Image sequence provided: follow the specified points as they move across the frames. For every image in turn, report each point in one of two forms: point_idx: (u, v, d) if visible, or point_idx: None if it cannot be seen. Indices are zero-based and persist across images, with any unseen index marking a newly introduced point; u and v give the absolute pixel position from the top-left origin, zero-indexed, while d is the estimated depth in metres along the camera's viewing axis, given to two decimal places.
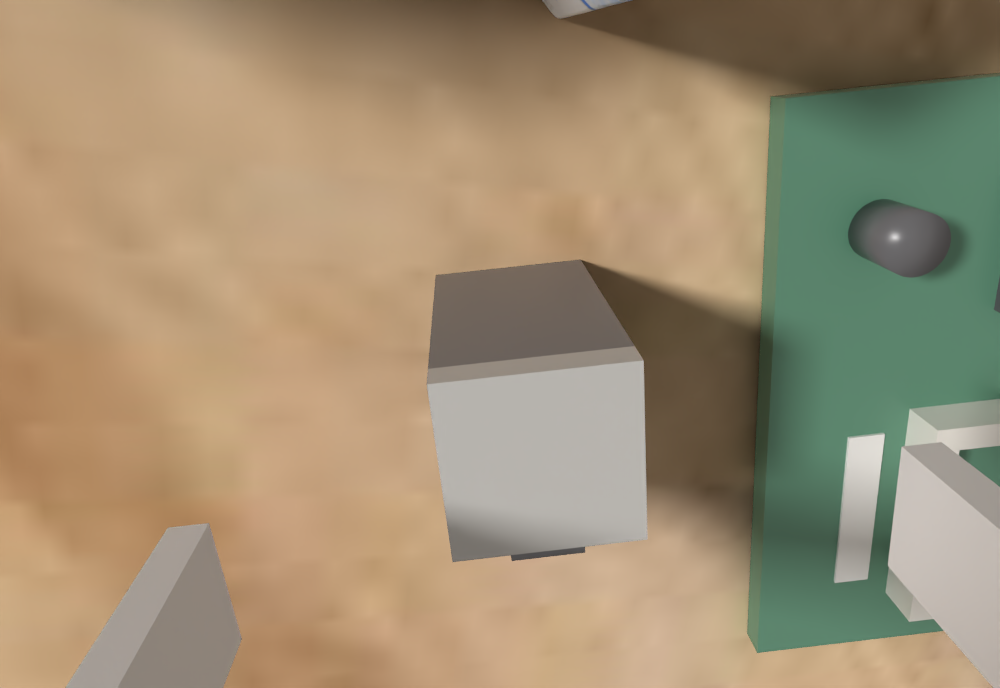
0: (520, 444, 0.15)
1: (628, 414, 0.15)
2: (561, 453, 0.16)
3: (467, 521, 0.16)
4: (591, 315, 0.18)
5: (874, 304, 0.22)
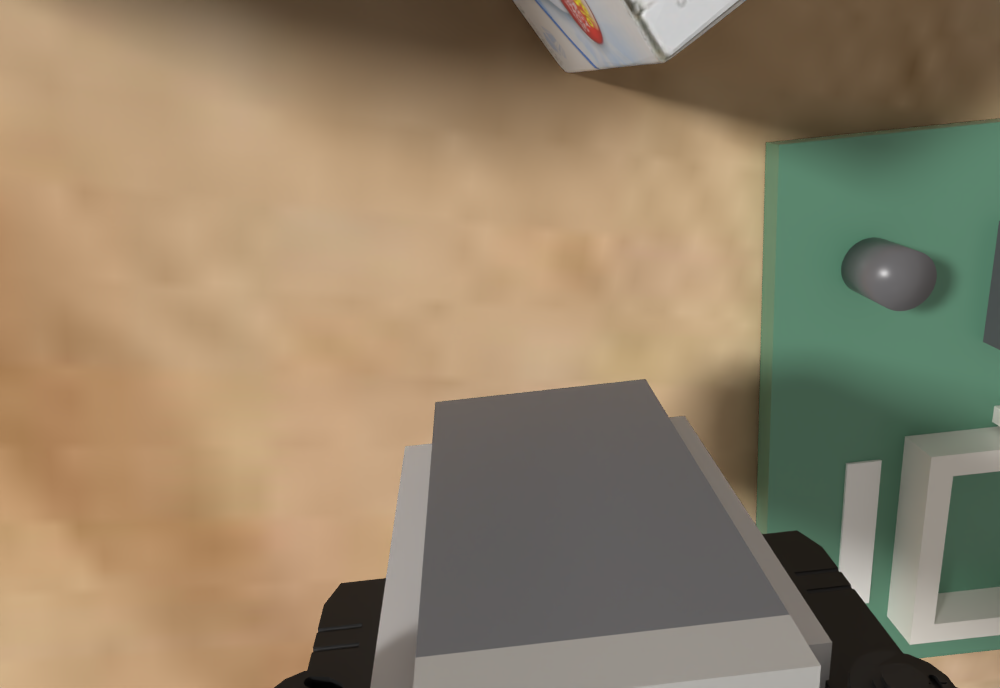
0: None
1: None
2: None
3: None
4: (690, 515, 0.11)
5: (868, 336, 0.23)
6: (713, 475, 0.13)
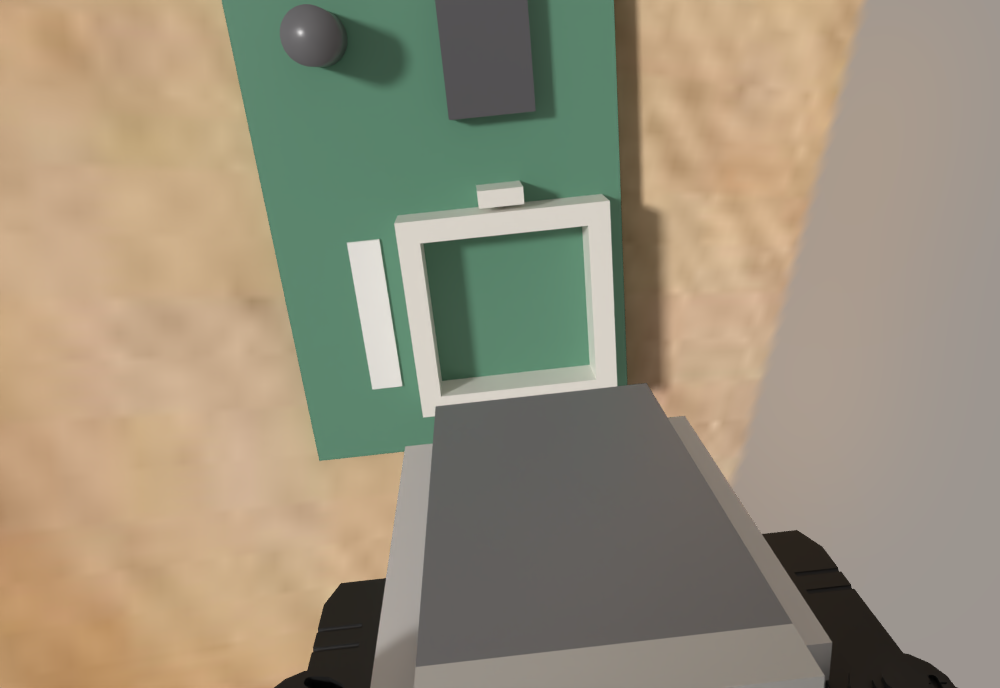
0: None
1: None
2: None
3: None
4: (692, 522, 0.11)
5: (337, 111, 0.25)
6: (713, 475, 0.13)
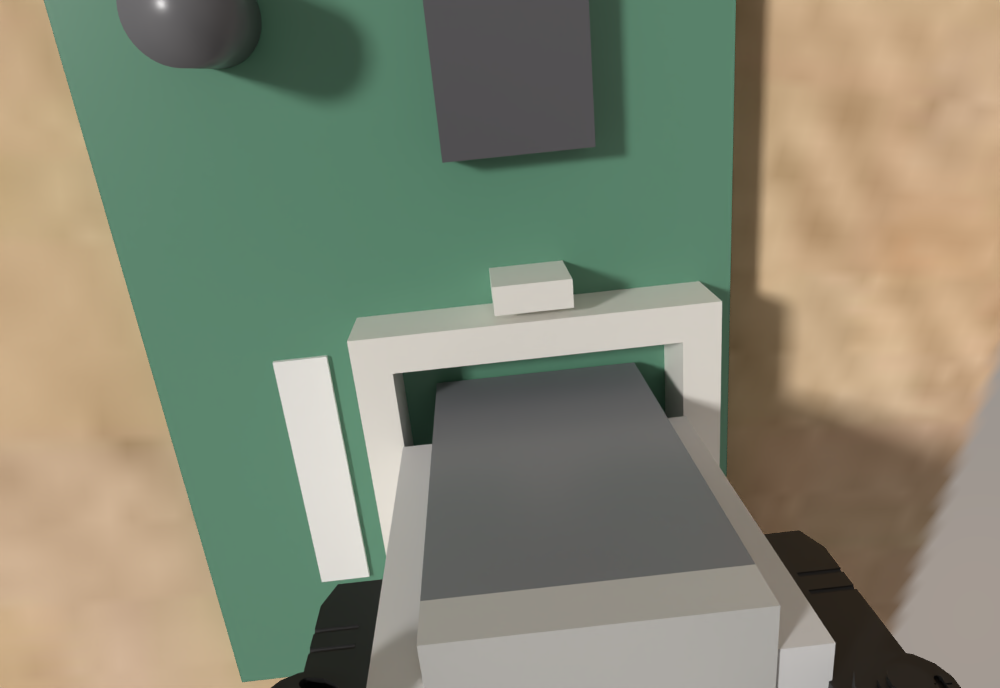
0: None
1: (748, 684, 0.09)
2: None
3: None
4: (670, 482, 0.12)
5: (247, 146, 0.14)
6: (715, 475, 0.13)
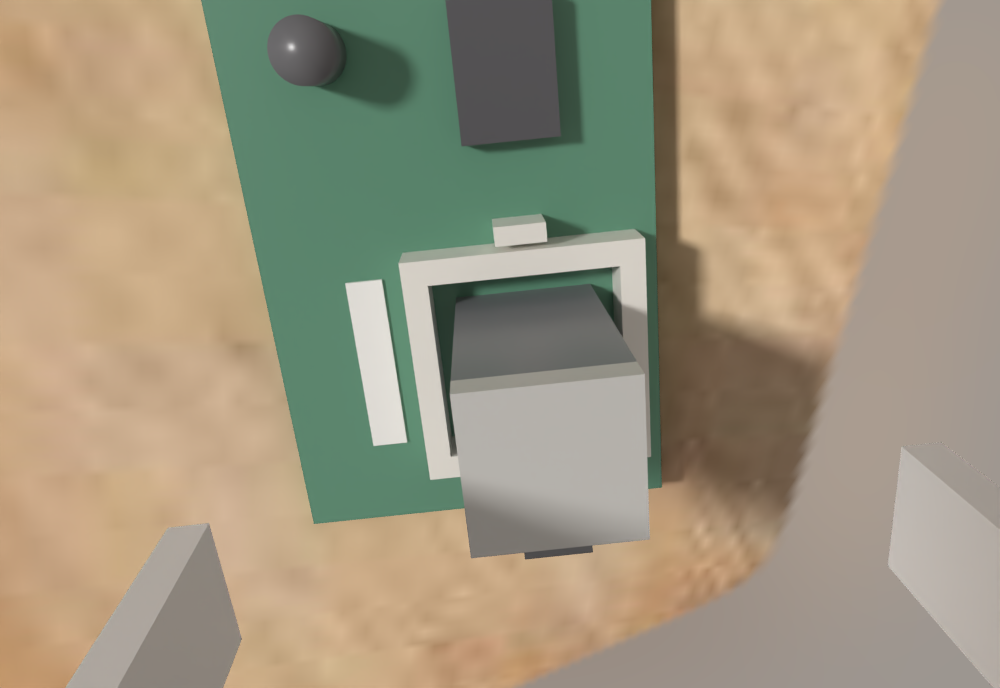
0: (533, 449, 0.17)
1: (631, 423, 0.17)
2: (570, 458, 0.17)
3: (484, 520, 0.18)
4: (599, 334, 0.19)
5: (334, 136, 0.22)
6: None
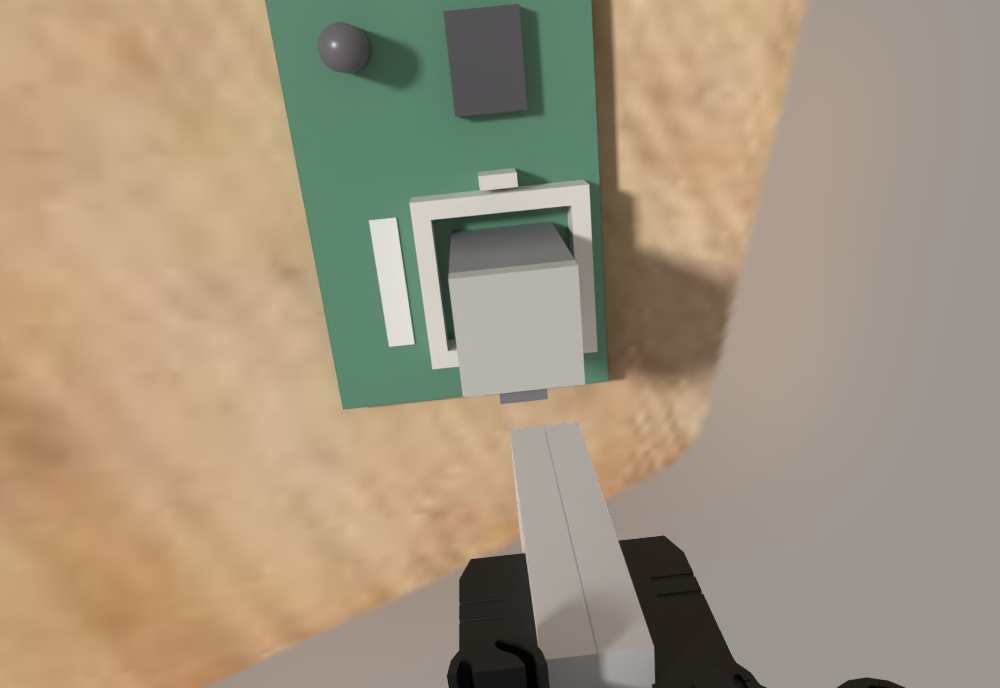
0: (504, 318, 0.25)
1: (570, 300, 0.25)
2: (529, 325, 0.26)
3: (472, 369, 0.26)
4: (552, 247, 0.28)
5: (362, 109, 0.30)
6: (588, 481, 0.13)
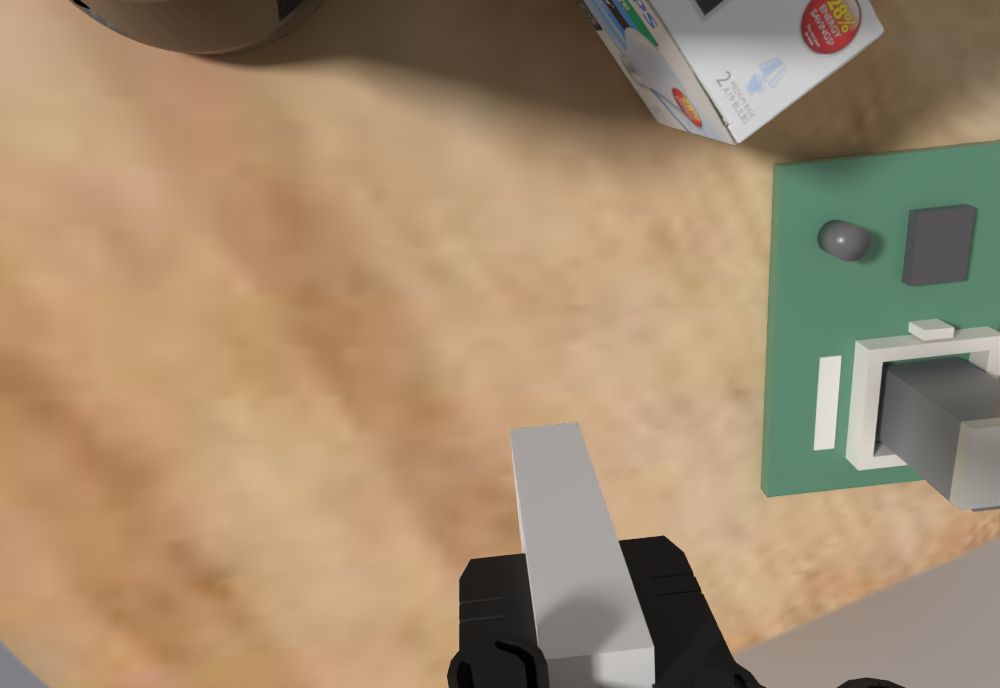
0: None
1: None
2: None
3: (971, 491, 0.35)
4: None
5: (833, 278, 0.39)
6: (588, 481, 0.13)
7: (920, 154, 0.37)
